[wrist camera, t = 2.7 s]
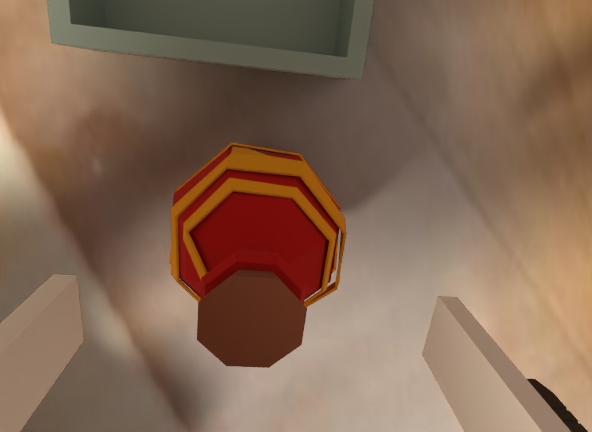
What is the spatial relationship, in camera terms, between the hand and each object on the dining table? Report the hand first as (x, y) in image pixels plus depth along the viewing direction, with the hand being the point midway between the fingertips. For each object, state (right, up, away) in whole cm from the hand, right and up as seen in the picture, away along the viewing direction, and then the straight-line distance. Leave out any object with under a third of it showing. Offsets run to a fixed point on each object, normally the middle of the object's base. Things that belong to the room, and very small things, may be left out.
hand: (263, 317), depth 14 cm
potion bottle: (-1, +5, +14) cm, 15 cm away
